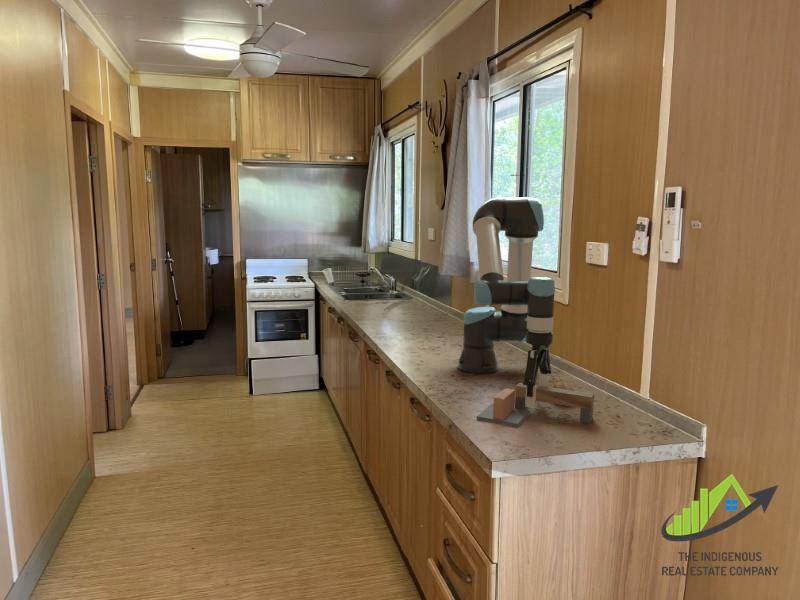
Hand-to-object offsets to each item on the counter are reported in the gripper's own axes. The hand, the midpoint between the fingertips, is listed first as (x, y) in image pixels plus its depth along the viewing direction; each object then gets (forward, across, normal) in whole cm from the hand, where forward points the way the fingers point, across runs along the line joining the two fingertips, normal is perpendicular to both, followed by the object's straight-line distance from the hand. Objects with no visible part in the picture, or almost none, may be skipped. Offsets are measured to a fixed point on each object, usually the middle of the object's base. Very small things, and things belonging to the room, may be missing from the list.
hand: (536, 400), depth 168 cm
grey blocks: (+4, 0, +5) cm, 6 cm away
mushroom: (+4, -14, +5) cm, 15 cm away
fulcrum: (+4, +9, -7) cm, 12 cm away
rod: (0, 0, +5) cm, 5 cm away
